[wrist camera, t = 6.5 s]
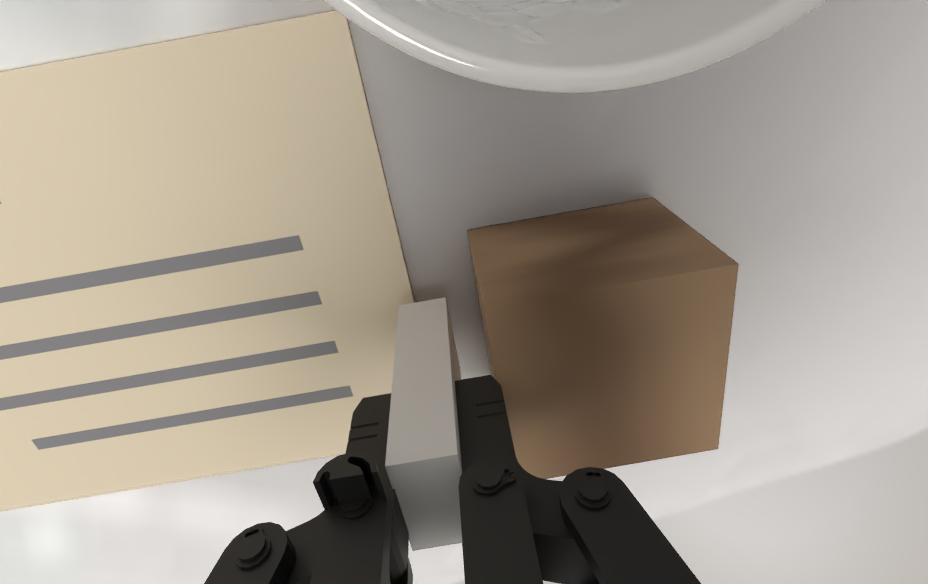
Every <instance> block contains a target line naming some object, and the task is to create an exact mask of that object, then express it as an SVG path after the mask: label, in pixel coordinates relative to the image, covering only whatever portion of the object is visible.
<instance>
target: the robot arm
mask: <svg viewBox="0 0 928 584" xmlns="http://www.w3.org/2000/svg"><path fill="white" fill-rule="evenodd" d="M350 428H351V430H350V431H349V437H348V443H347V448H346V454H343V455H340V456H337V457H335V458H334V459H332V460H331V461H329V462H327V463H326V464H325V465H324V466H323V467H322V468H321V469H320V470H319V471H318V473H317V475H316V477H315V479H314V481H313V484H314V486H315V488H316V490H317V493H318V495H319V497H320V500H321V502H322V504H323V507H324V509H325V511H323V512H322V513H321V514H320V515H318V516H317V517H315V518H313V519H311V520H310V521H308V522H306V523H303V524H301V525H299V526H297V527H295V528H292V529H290V530H288V531H285V530H284V529H283V528H282V527H281V526H280V525H279V524H275V523H271V522H268V523H260V524H256V525H254V526H252V527H250V528H247V529H245V530H244V531H243V532H241V533H240V534H239V535H238V536H236V537H235V538H234V539H233V540H232V541H231V543H230V544H229V545H228V546H227V548H226V549H225V550H224V552H223V553H222V555H221V557H220V558H219V560H218V562H217V563H216V565H215V567H214V568H213V570H212V572H211V573H210V575H209V577H208V578H207V580H206V582H205V583H204V584H413V574H412V569H411V564H410V561H409V559H408V541H410V544H411V547H412V550H413V551H414V550H420V549H426V548H432V547H438V546H444V545H450V544H456V543H462V545H463V559H464V573H465V584H543V580H544V581H550V582H555V583H561V584H701V583H700V582H699V580H698V579H697V578H696V577H695V575H694V574H693V573H692V571H691V570H690V569H689V567H688V566H687V565H686V563H685V562H684V561H683V560H682V558H681V557H680V556H679V554H678V553H677V552H676V551H675V549H674V548H673V547H672V545H671V544H670V543H669V541H668V540H667V539H666V537H665V536H664V535H663V534H662V532H661V531H660V529H659V528H658V527H657V526H656V524H655V523H654V522H653V520H652V519H651V518H650V516H649V515H648V514H647V512H646V511H645V510H644V509H643V507H642V506H641V505H640V503H639V502H638V501H637V499H636V498H635V497H634V495H633V494H632V493H631V492H630V490H629V489H628V488H627V486H626V485H625V484H624V482H623V481H622V480H620V479H619V478H618V477H617V476H616V475H615V474H614V473H612V472H609V471H607V470H605V469H602V468H594V467H586V468H581V469H577V470H575V471H573V472H572V473H570V474H568V475H567V476H566V477H565V479H564V480H563V481H554V480H547V479H542V478H538V477H536V476H533V475H531V474H529V473H528V472H527V471H525V470H524V469H523V468H522V467H521V465H520V464H519V463H518V460H517V458H516V455H515V450H514V445H513V440H512V435H511V431H510V426H509V421H508V416H507V411H506V406H505V402H504V397H503V392H502V387H501V385H500V384H499V383H498V382H497V381H496V380H495V379H494V377H493V376H492V375H487V376H481V377H475V378H469V379H463V380H461V375H460V366H459V361H458V356H457V351H456V346H455V341H454V336H453V331H452V326H451V322H450V317H449V312H448V307H447V302H446V297H444V298H438V299H433V300H427V301H421V302H415V303H409V304H404V305H399V311H398V323H397V334H396V346H395V357H394V369H393V380H392V392H391V393H389V394H383V395H377V396H371V397H365V398H362V400H361V401H360V403H359V404H358V406H357V407H356V409H355V410H354V411H353V415H352V420H351V426H350Z"/></svg>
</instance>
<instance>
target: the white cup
mask: <svg viewBox="0 0 928 584" xmlns="http://www.w3.org/2000/svg"><path fill="white" fill-rule="evenodd" d="M324 1H325V2H326V3H327V4H329V5H330V6H331V7H333V8H334V9H335V10H337V11H338V12H339V13H341V14H342V15H343V16H345V17H346V18H348V19H349V20H350V21H352V22H353V23H355V24H356V25H358V26H359V27H361V28H362V29H364V30H365V31H367V32H369V33H370V34H372V35H373V36H375V37H377V38H378V39H380V40H382V41H383V42H385V43H387V44H389V45H391V46H392V47H394V48H396V49H398V50H400V51H402V52H404V53H406V54H408V55H410V56H412V57H414V58H416V59H418V60H421V61H423V62H425V63H427V64H430V65H432V66H435V67H437V68H440V69H442V70H445V71H448V72H450V73H453V74H456V75H459V76H462V77H466V78H469V79H472V80H476V81H480V82H484V83H488V84H492V85H497V86H501V87H507V88H512V89H519V90H527V91H536V92H549V93H591V92H604V91H613V90H620V89H627V88H633V87H638V86H643V85H648V84H652V83H656V82H661V81H664V80H668V79H672V78H675V77H678V76H681V75H685V74H688V73H691V72H694V71H696V70H699V69H702V68H704V67H707V66H710V65H712V64H715V63H717V62H719V61H722V60H724V59H727V58H729V57H731V56H733V55H735V54H737V53H740V52H742V51H744V50H746V49H748V48H750V47H752V46H754V45H756V44H757V43H759V42H761V41H763V40H765V39H767V38H768V37H770V36H772V35H774V34H775V33H777V32H779V31H781V30H782V29H784V28H786V27H787V26H789V25H790V24H792V23H794V22H795V21H797V20H798V19H800V18H801V17H803V16H804V15H806V14H807V13H809V12H810V11H812V10H813V9H815V8H816V7H817V6H819V5H820V4H822V3H823V2H824V1H826V0H324Z"/></svg>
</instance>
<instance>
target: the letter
mask: <svg viewBox="0 0 928 584" xmlns="http://www.w3.org/2000/svg"><path fill="white" fill-rule="evenodd" d="M409 303H415V302H414V298H413V293H412V289H411V285H410V281H409V277H408V272H407V268H406V264H405V260H404V256H403V251H402V247H401V243H400V239H399V235H398V230H397V226H396V222H395V218H394V214H393V209H392V205H391V201H390V197H389V193H388V188H387V184H386V180H385V176H384V172H383V167H382V163H381V159H380V155H379V151H378V147H377V142H376V138H375V134H374V130H373V126H372V121H371V117H370V113H369V109H368V105H367V100H366V96H365V92H364V88H363V84H362V79H361V75H360V71H359V67H358V63H357V58H356V54H355V50H354V46H353V42H352V37H351V33H350V29H349V25H348V21H347V18H346V17H345V16H343V15H342V14H341V13H339V12H338V11H337V10H335V11H330V12H325V13H319V14H314V15H308V16H303V17H297V18H292V19H286V20H281V21H276V22H270V23H265V24H259V25H254V26H248V27H243V28H237V29H232V30H226V31H221V32H216V33H210V34H205V35H199V36H194V37H188V38H183V39H177V40H172V41H166V42H161V43H156V44H150V45H145V46H139V47H134V48H128V49H123V50H117V51H112V52H106V53H101V54H96V55H90V56H85V57H79V58H74V59H68V60H63V61H57V62H52V63H46V64H41V65H36V66H30V67H25V68H19V69H14V70H8V71H3V72H0V512H1V511H7V510H13V509H19V508H25V507H31V506H37V505H43V504H49V503H55V502H61V501H67V500H73V499H78V498H84V497H90V496H96V495H102V494H108V493H114V492H120V491H126V490H132V489H138V488H144V487H150V486H156V485H162V484H168V483H174V482H180V481H186V480H192V479H197V478H203V477H209V476H215V475H221V474H227V473H233V472H239V471H245V470H251V469H257V468H263V467H269V466H275V465H281V464H287V463H293V462H299V461H305V460H311V459H316V458H322V457H328V456H334V455H340V454H346V448H347V443H348V437H349V431H350V430H351V428H350V426H351V420H352V415H353V411H354V410H355V409H356V407H357V406H358V404H359V403H360V401H361V400H362V398H365V397H371V396H377V395H383V394H389V393H391V392H392V380H393V369H394V357H395V346H396V334H397V323H398V311H399V305H404V304H409Z"/></svg>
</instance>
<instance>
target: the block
mask: <svg viewBox="0 0 928 584" xmlns="http://www.w3.org/2000/svg"><path fill="white" fill-rule="evenodd" d="M467 232H468V238H469V244H470V250H471V256H472V262H473V268H474V274H475V280H476V286H477V292H478V298H479V304H480V310H481V316H482V322H483V328H484V334H485V340H486V346H487V352H488V358H489V364H490V370H491V375H492V376H493V377H494V379H495V380H496V381H497V382H498V383H499V384H500V385H501V387H502V392H503V397H504V402H505V406H506V411H507V416H508V421H509V426H510V431H511V435H512V440H513V445H514V450H515V455H516V458H517V460H518V463H519V464H520V465H521V467H522V468H523V469H524V470H525V471H527V472H528V473H529V474H531V475H533V476H536V477H538V478H542V479H547V478H553V477H559V476H565V475H568V474H570V473H572V472H573V471H575V470H577V469H581V468H586V467H594V468H602V469H605V468H611V467H617V466H622V465H628V464H634V463H640V462H645V461H651V460H657V459H663V458H668V457H674V456H680V455H686V454H691V453H697V452H703V451H709V450H714V449H718V445H719V436H720V426H721V417H722V408H723V399H724V390H725V381H726V372H727V363H728V354H729V345H730V335H731V326H732V317H733V308H734V299H735V290H736V281H737V272H738V263H737V262H735V261H734V260H733V259H732V258H730V257H729V256H728V255H726V254H725V253H724V252H723V251H721V250H720V249H719V248H717V247H716V246H715V245H714V244H712V243H711V242H710V241H708V240H707V239H706V238H705V237H703V236H702V235H701V234H699V233H698V232H697V231H696V230H694V229H693V228H692V227H690V226H689V225H688V224H687V223H685V222H684V221H683V220H681V219H680V218H679V217H678V216H676V215H675V214H674V213H672V212H671V211H670V210H669V209H667V208H666V207H665V206H663V205H662V204H661V203H660V202H658V201H657V200H656V199H654V198H653V197H652V198H646V199H641V200H635V201H629V202H624V203H618V204H612V205H607V206H601V207H596V208H590V209H584V210H579V211H573V212H567V213H562V214H556V215H551V216H545V217H539V218H534V219H528V220H522V221H517V222H511V223H506V224H500V225H494V226H489V227H483V228H477V229H472V230H467Z"/></svg>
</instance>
